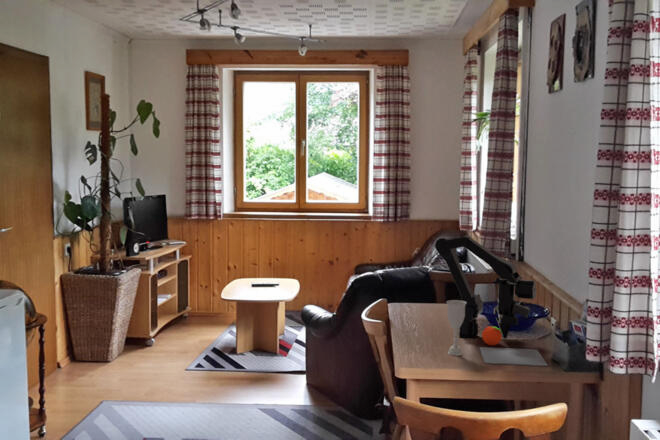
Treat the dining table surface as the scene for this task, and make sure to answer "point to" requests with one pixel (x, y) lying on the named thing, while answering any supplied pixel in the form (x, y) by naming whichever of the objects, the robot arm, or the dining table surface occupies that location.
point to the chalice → (456, 322)
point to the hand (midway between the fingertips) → (504, 338)
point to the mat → (512, 356)
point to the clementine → (492, 335)
